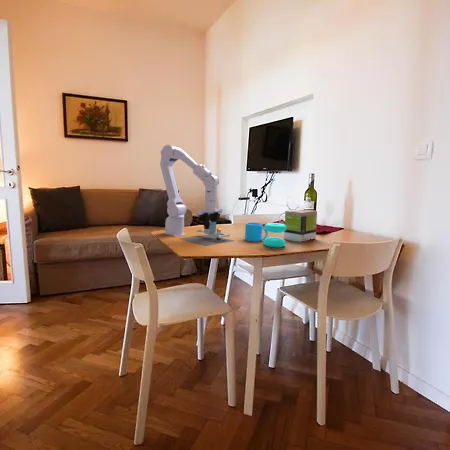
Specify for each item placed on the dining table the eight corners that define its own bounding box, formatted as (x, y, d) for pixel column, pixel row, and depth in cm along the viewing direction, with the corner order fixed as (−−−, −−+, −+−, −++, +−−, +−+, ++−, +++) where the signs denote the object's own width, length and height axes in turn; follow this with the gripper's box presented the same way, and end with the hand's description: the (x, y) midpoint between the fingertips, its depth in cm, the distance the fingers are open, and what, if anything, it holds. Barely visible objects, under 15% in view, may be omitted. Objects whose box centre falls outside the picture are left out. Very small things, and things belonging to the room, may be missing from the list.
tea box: (299, 236, 184) (301, 208, 182) (316, 239, 177) (318, 210, 175) (282, 239, 173) (284, 210, 171) (299, 242, 166) (302, 212, 164)
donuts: (279, 222, 161) (291, 225, 152) (277, 243, 162) (289, 247, 153) (260, 222, 157) (271, 226, 148) (259, 244, 158) (270, 248, 149)
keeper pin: (215, 239, 162) (215, 229, 161) (218, 239, 163) (218, 228, 162) (218, 240, 160) (218, 229, 160) (221, 240, 162) (221, 229, 161)
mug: (241, 240, 166) (242, 223, 164) (250, 238, 172) (251, 222, 171) (262, 244, 158) (263, 226, 157) (271, 241, 165) (272, 225, 164)
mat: (178, 239, 161) (178, 238, 161) (207, 235, 174) (207, 234, 174) (205, 246, 148) (205, 245, 148) (234, 241, 161) (234, 240, 161)
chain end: (193, 231, 168) (194, 219, 168) (204, 230, 174) (204, 218, 173) (219, 237, 157) (219, 225, 156) (229, 236, 162) (230, 223, 161)
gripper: (205, 201, 155) (204, 230, 158) (227, 200, 166) (225, 228, 168) (195, 200, 160) (194, 228, 162) (216, 199, 171) (215, 226, 173)
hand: (209, 228), depth 165 cm, fingers closed on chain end, 4 cm apart
